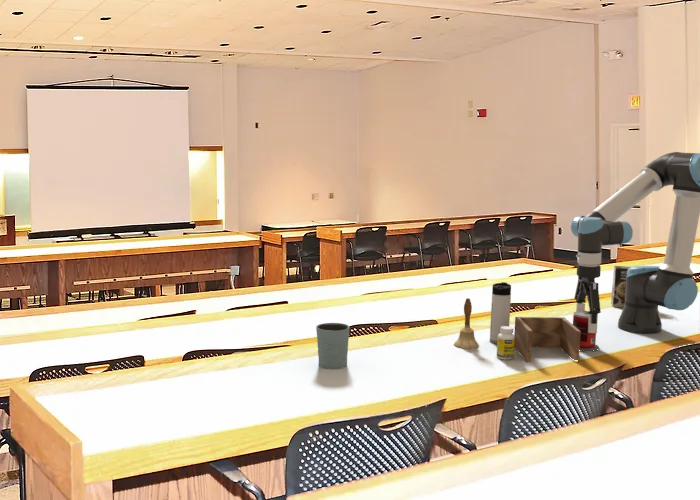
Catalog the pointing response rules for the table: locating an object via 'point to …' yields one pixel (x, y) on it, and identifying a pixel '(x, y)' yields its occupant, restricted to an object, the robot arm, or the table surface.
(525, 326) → the walnut u-shaped bracket
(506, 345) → the supplement bottle
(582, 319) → the canned food
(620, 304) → the coffee box
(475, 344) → the hand bell
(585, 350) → the slate coaster
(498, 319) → the travel mug
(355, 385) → the table surface
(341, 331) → the grey-green cup
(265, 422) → the table surface
